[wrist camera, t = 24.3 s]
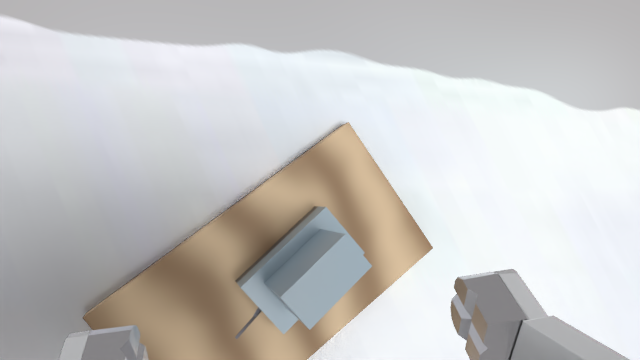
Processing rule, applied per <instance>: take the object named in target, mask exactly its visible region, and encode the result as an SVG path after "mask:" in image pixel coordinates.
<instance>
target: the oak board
mask: <svg viewBox="0 0 640 360" xmlns="http://www.w3.org/2000/svg"><path fill="white" fill-rule="evenodd" d="M315 206H320V207H327V209H328V210H329V211H330V212H331V213H332V214H333V216H334V217H335V218H336V219H337V220H338V222H339V223H340V224H341V225H342V226H343V227H344V229H345V230H346V231H347V232H348V233H349V235H350V236H351V237H352V238H353V239H354V240H355V242H356V243H357V244H358V245H359V246H360V248H361V249H362V250H363V251H364V252H365V253H364V254H363V256H364V257H365V258H366V259H367V260H368V262H369V263H370V264H371V265H372V267H371V268H370V269H369V270H368V271H367V272H366V273H365V274H364V275H363V276H362V277H361V278H360V279H359V280H358V281H357V282H356V283H355V284H354V285H353V286H352V287H351V288H350V289H349V290H348V291H347V293H346V294H345V295H344V296H343V297H342V298H341V299H340V300H339V301H338V302H337V303H336V304H335V305H334V306H333V307H332V308H331V309H330V310H329V311H328V312H327V313H326V314H325V315H324V316H323V317H322V318H321V319H320V320H319V321H318V322H317V323H316V324H315V325H314V326H313V327H312V328H311V329H310V330H309V329H308V328H307V327H306V326H305V325H304V324H303V323H302V322H301V321H300V320H298V321H297V322H296V323H295V324H294V325H293V326H292V327H291V328H290V329H289V330H288V331H287V332H286V333H285V334H283V333H282V332H281V331H280V330H279V329H278V328H277V327H276V326H275V325H274V323H273V322H272V321H271V320H270V319H269V318H268V317H267V316H266V315H265V314H264V313H263V312H262V310H261V309H260V308H259V307H258V306H257V305H256V304H255V303H254V302H253V301H252V300H251V299H250V297H249V296H248V295H247V294H246V293H245V292H244V291H243V290H242V289H241V288H240V287H239V285H238V284H237V283H236V282H235V281H236V280H237V279H238V278H239V277H240V276H241V275H242V274H243V273H244V272H245V271H246V270H247V269H248V268H249V267H250V266H252V265H253V264H254V263H255V262H256V261H257V260H258V259H259V258H260V257H261V256H262V255H263V254H264V253H265V252H267V251H268V250H269V249H270V248H271V247H272V246H273V245H274V244H275V243H276V242H277V241H278V240H279V239H280V238H282V237H283V236H284V235H285V234H286V233H287V232H288V231H289V230H290V229H291V228H292V227H293V226H294V225H295V224H297V223H298V222H299V221H300V220H301V219H302V218H303V217H304V216H305V215H306V214H307V213H308V212H309V211H310V210H312V209H313V208H314V207H315ZM432 248H433V247H432V246H431V244H430V243H429V241H428V240H427V238H426V237H425V235H424V234H423V232H422V231H421V229H420V228H419V226H418V225H417V223H416V222H415V220H414V219H413V217H412V216H411V215H410V213H409V212H408V210H407V209H406V207H405V206H404V204H403V203H402V201H401V200H400V198H399V197H398V195H397V194H396V192H395V191H394V189H393V188H392V186H391V185H390V183H389V182H388V180H387V179H386V177H385V176H384V174H383V173H382V171H381V170H380V168H379V167H378V165H377V164H376V162H375V161H374V159H373V158H372V156H371V155H370V153H369V152H368V151H367V149H366V148H365V146H364V145H363V143H362V142H361V140H360V139H359V137H358V136H357V134H356V133H355V131H354V130H353V128H352V127H351V125H350V124H349V122H348V123H346V124H343V125H342V126H340V127H339V128H338V129H336V130H335V131H333V132H332V133H331V134H329V135H328V136H327V137H325V138H324V139H323V140H321V141H320V142H318V143H317V144H316V145H314V146H313V147H312V148H310V149H309V150H308V151H306V152H305V153H303V154H302V155H301V156H299V157H298V158H297V159H295V160H294V161H293V162H291V163H290V164H288V165H287V166H286V167H284V168H283V169H282V170H280V171H279V172H278V173H276V174H275V175H274V176H272V177H271V178H269V179H268V180H267V181H265V182H264V183H263V184H261V185H260V186H259V187H257V188H256V189H254V190H253V191H252V192H250V193H249V194H248V195H246V196H245V197H244V198H242V199H241V200H239V201H238V202H237V203H235V204H234V205H233V206H231V207H230V208H229V209H227V210H226V211H224V212H223V213H222V214H220V215H219V216H218V217H216V218H215V219H214V220H212V221H211V222H209V223H208V224H207V225H205V226H204V227H203V228H201V229H200V230H199V231H197V232H196V233H194V234H193V235H192V236H190V237H189V238H188V239H186V240H185V241H184V242H182V243H181V244H179V245H178V246H177V247H175V248H174V249H173V250H171V251H170V252H169V253H167V254H166V255H165V256H163V257H162V258H160V259H159V260H158V261H156V262H155V263H154V264H152V265H151V266H150V267H148V268H147V269H145V270H144V271H143V272H141V273H140V274H139V275H137V276H136V277H135V278H133V279H132V280H130V281H129V282H128V283H126V284H125V285H124V286H122V287H121V288H120V289H118V290H117V291H115V292H114V293H113V294H111V295H110V296H109V297H107V298H106V299H105V300H103V301H102V302H100V303H99V304H98V305H96V306H95V307H94V308H92V309H91V310H90V311H88V312H87V313H86V314H85V315H84V317H83V319H84V320H85V321H86V322H87V324H88V325H89V326H90V327H91V328H92V330H98V329H107V328H115V327H123V326H131V325H137V327H138V329H139V332H140V340H139V343H141V344H143V345H145V347H146V350H147V353H148V358H149V360H307V359H308V358H309V357H310V356H311V355H313V354H314V353H315V352H316V351H317V350H318V349H319V348H320V347H322V346H323V345H324V344H325V343H326V342H327V341H328V340H330V339H331V338H332V337H333V336H334V335H335V334H336V333H337V332H339V331H340V330H341V329H342V328H343V327H344V326H345V325H346V324H348V323H349V322H350V321H351V320H352V319H353V318H354V317H356V316H357V315H358V314H359V313H360V312H361V311H362V310H363V309H365V308H366V307H367V306H368V305H369V304H370V303H371V302H373V301H374V300H375V299H376V298H377V297H378V296H379V295H380V294H382V293H383V292H384V291H385V290H386V289H387V288H388V287H389V286H391V285H392V284H393V283H394V282H395V281H396V280H397V279H399V278H400V277H401V276H402V275H403V274H404V273H405V272H406V271H408V270H409V269H410V268H411V267H412V266H413V265H414V264H415V263H417V262H418V261H419V260H420V259H421V258H422V257H423V256H425V255H426V254H427V253H428V252H429V251H430V250H431V249H432Z"/></svg>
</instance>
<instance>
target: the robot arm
mask: <svg viewBox="0 0 640 360" xmlns="http://www.w3.org/2000/svg"><path fill="white" fill-rule="evenodd" d="M454 289H455V291H456V292H457V294H456V295H455V296H454V297H453V299H452V301H451V316H452V320H453V324H454V327H455V329H456V331H457V333H458V335H460V336H461V337H462V338H464V339H465V340H467V343H466V347H465V350H466V352H467V354H468V356H469V358H470V360H629V359H628V358H626V357H624V356H622V355H621V354H619V353H617V352H615V351H614V350H612V349H610V348H609V347H607V346H605V345H603V344H602V343H600V342H598V341H596V340H595V339H593V338H591V337H590V336H588V335H586V334H584V333H583V332H581V331H579V330H577V329H576V328H574V327H572V326H571V325H569V324H567V323H565V322H564V321H562V320H560V319H558V318H557V317H555V316H548V315H547V314H546V312H545V311H544V310H543V308H542V307H541V305H540V304H539V303H538V301H537V300H536V298H535V297H534V295H533V294H532V293H531V291H530V290H529V288H528V287H527V286H526V284H525V283H524V281H523V280H522V278H521V277H520V276H519V274H518V273H517V271H515V270H513V269H509V270H503V271H496V272H487V273H481V274H475V275H469V276H462V277H458V278H457V279H456V280H455V285H454ZM139 340H140V332H139V329H138V327H137V325H131V326H123V327H115V328H107V329H98V330H91V331H84V332H76V333H70V334H69V335H68V337H67V338H66V339H65V342H64V345H63V348H62V351H61V354H60V357H59V360H149V358H148V353H147V350H146V347H145V345H143V344H141V343H139Z"/></svg>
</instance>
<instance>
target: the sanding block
mask: <svg viewBox="0 0 640 360" xmlns="http://www.w3.org/2000/svg"><path fill="white" fill-rule="evenodd" d="M364 253H365V252H364V251H363V250H362V249H361V248H360V246H359V245H358V244H357V243H356V242H355V240H354V239H353V238H352V237H351V236H350V235H349V233H348V232H347V231H346V230H345V229H344V227H343V226H342V225H341V224H340V223H339V222H338V220H337V219H336V218H335V217H334V216H333V214H332V213H331V212H330V211H329V210H328V209H327V207H320V206H315V207H314V208H313V209H312V210H310V211H309V212H308V213H307V214H306V215H305V216H304V217H303V218H302V219H301V220H300V221H299V222H298V223H297V224H295V225H294V226H293V227H292V228H291V229H290V230H289V231H288V232H287V233H286V234H285V235H284V236H283V237H282V238H280V239H279V240H278V241H277V242H276V243H275V244H274V245H273V246H272V247H271V248H270V249H269V250H268V251H267V252H265V253H264V254H263V255H262V256H261V257H260V258H259V259H258V260H257V261H256V262H255V263H254V264H253V265H252V266H250V267H249V268H248V269H247V270H246V271H245V272H244V273H243V274H242V275H241V276H240V277H239V278H238V279H237V280H236V281H235V282H236V283H237V284H238V285H239V287H240V288H241V289H242V290H243V291H244V292H245V293H246V294H247V295H248V296H249V297H250V299H251V300H252V301H253V302H254V303H255V304H256V305H257V306H258V307H259V308H260V309H261V310H262V312H263V313H264V314H265V315H266V316H267V317H268V318H269V319H270V320H271V321H272V322H273V323H274V325H275V326H276V327H277V328H278V329H279V330H280V331H281V332H282V333H283V334H285V333H286V332H287V331H288V330H289V329H290V328H291V327H292V326H293V325H294V324H295V323H296V322H297V321H298V320H300V321H301V322H302V323H303V324H304V325H305V326H306V327H307V328H308V329H309V330H310V329H311V328H312V327H313V326H314V325H315V324H316V323H317V322H318V321H319V320H320V319H321V318H322V317H323V316H324V315H325V314H326V313H327V312H328V311H329V310H330V309H331V308H332V307H333V306H334V305H335V304H336V303H337V302H338V301H339V300H340V299H341V298H342V297H343V296H344V295H345V294H346V293H347V291H348V290H349V289H350V288H351V287H352V286H353V285H354V284H355V283H356V282H357V281H358V280H359V279H360V278H361V277H362V276H363V275H364V274H365V273H366V272H367V271H368V270H369V269H370V268H371V267H372V265H371V264H370V263H369V262H368V260H367V259H366V258H365V257H364V256H363V254H364Z"/></svg>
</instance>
